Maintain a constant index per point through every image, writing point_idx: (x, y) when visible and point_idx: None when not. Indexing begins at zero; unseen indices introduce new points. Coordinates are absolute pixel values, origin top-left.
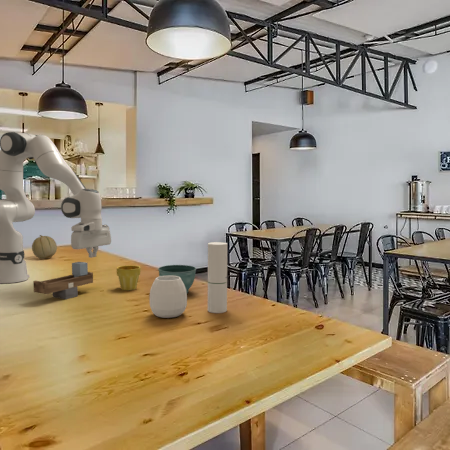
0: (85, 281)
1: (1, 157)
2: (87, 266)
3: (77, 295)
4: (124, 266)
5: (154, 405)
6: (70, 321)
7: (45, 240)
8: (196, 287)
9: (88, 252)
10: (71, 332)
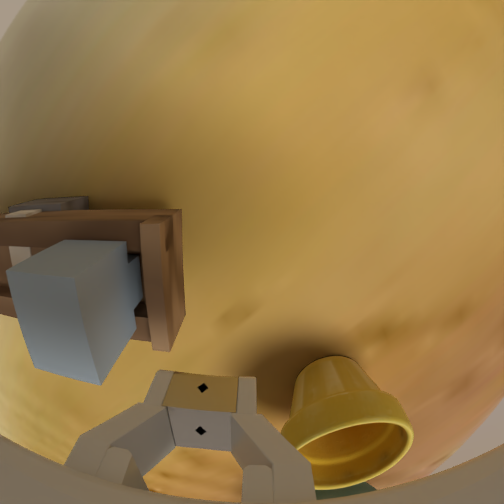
0: None
1: None
2: (113, 363)
3: None
4: (389, 422)
5: None
6: (11, 408)
7: None
8: (399, 475)
9: (126, 422)
10: (7, 428)
